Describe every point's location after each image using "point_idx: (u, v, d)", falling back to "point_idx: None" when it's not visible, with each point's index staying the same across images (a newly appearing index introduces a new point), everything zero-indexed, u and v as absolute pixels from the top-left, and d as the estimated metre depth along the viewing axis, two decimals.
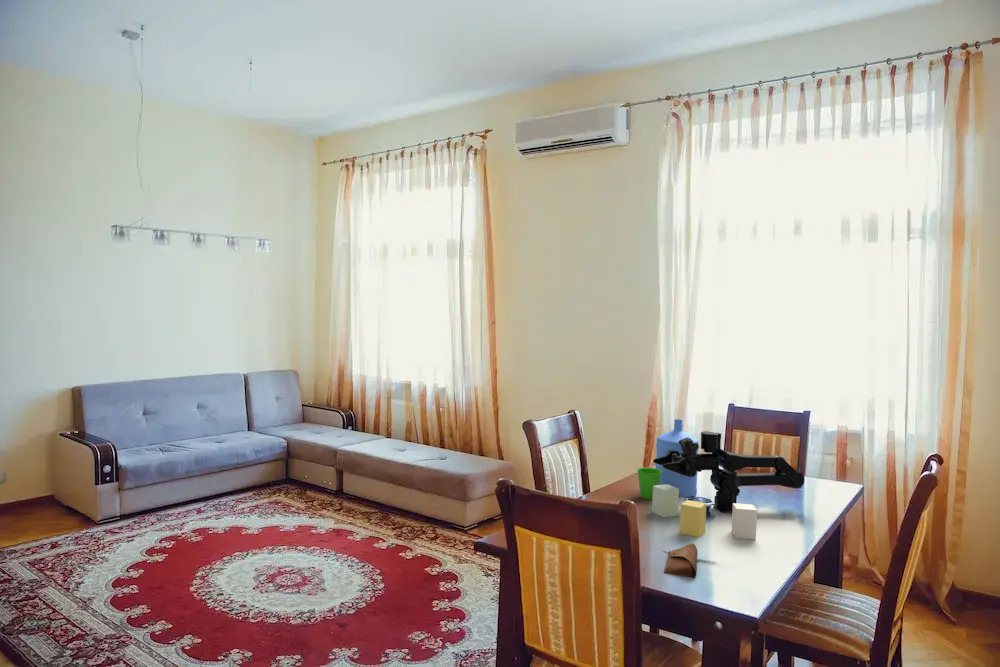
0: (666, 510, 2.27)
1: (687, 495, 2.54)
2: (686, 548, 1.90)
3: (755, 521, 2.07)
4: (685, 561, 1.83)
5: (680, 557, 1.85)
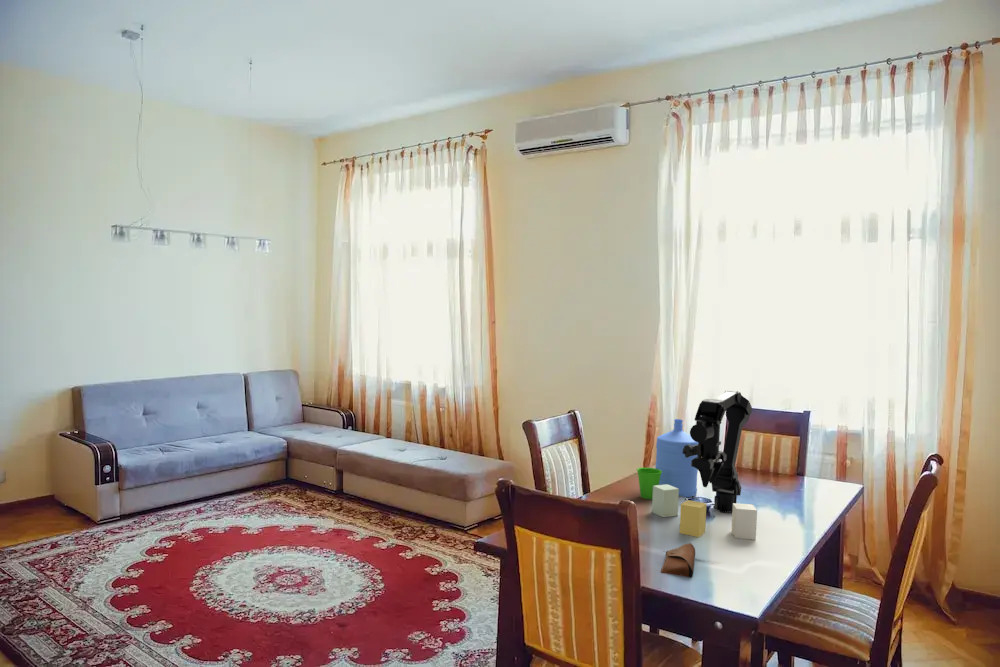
0: (666, 510, 2.27)
1: (687, 495, 2.54)
2: (684, 548, 1.91)
3: (755, 521, 2.07)
4: (682, 561, 1.83)
5: (677, 557, 1.85)
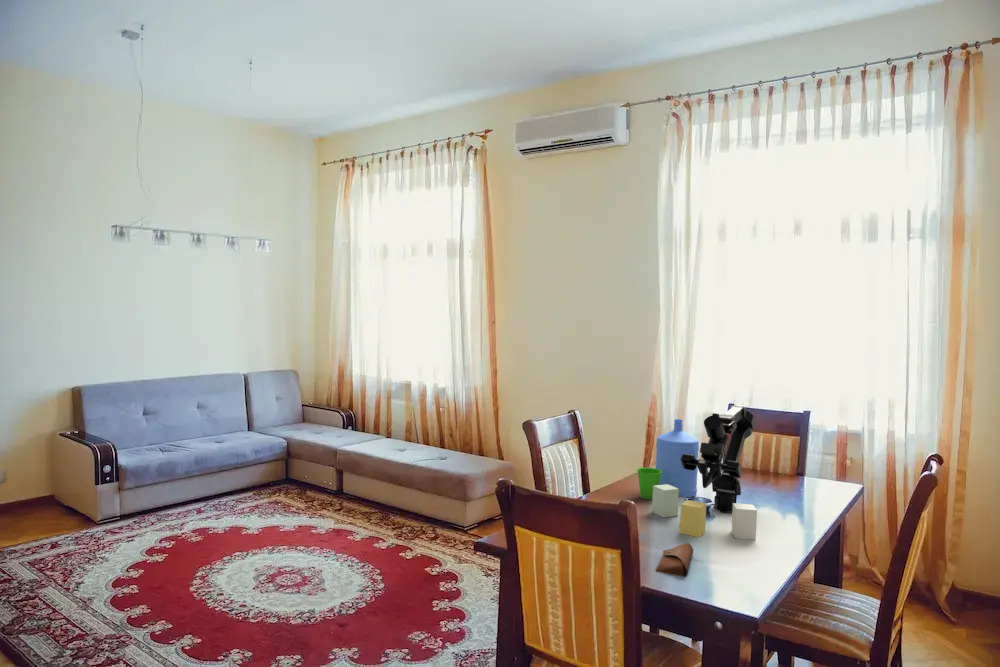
0: (666, 510, 2.27)
1: (687, 495, 2.54)
2: (681, 547, 1.91)
3: (755, 521, 2.07)
4: (677, 560, 1.83)
5: (673, 556, 1.86)
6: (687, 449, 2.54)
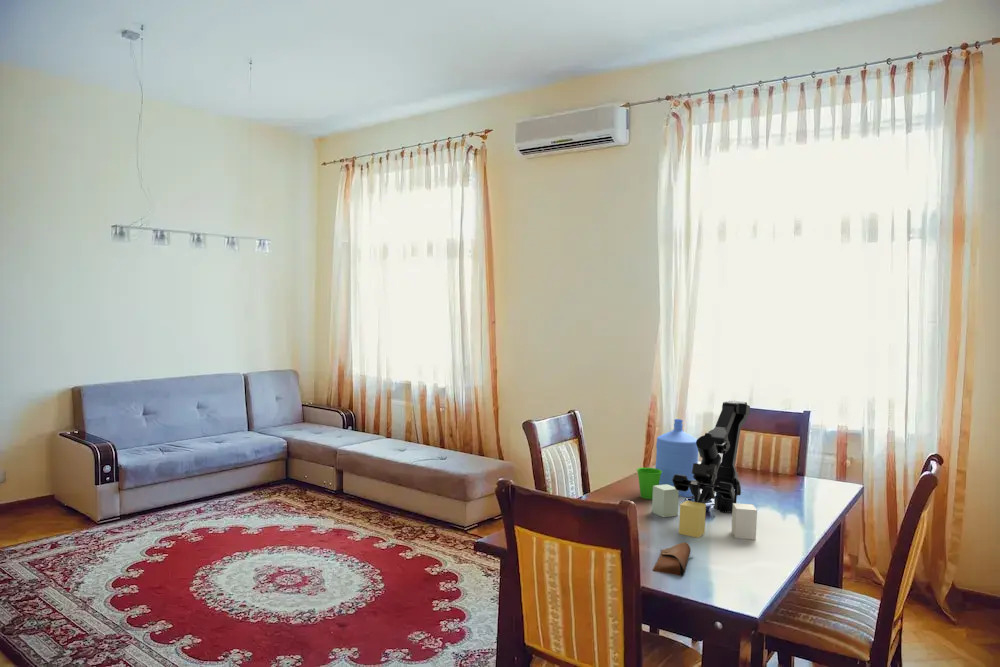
0: (666, 510, 2.27)
1: (687, 495, 2.54)
2: (678, 547, 1.91)
3: (755, 521, 2.07)
4: (674, 559, 1.84)
5: (670, 555, 1.86)
6: (687, 449, 2.54)
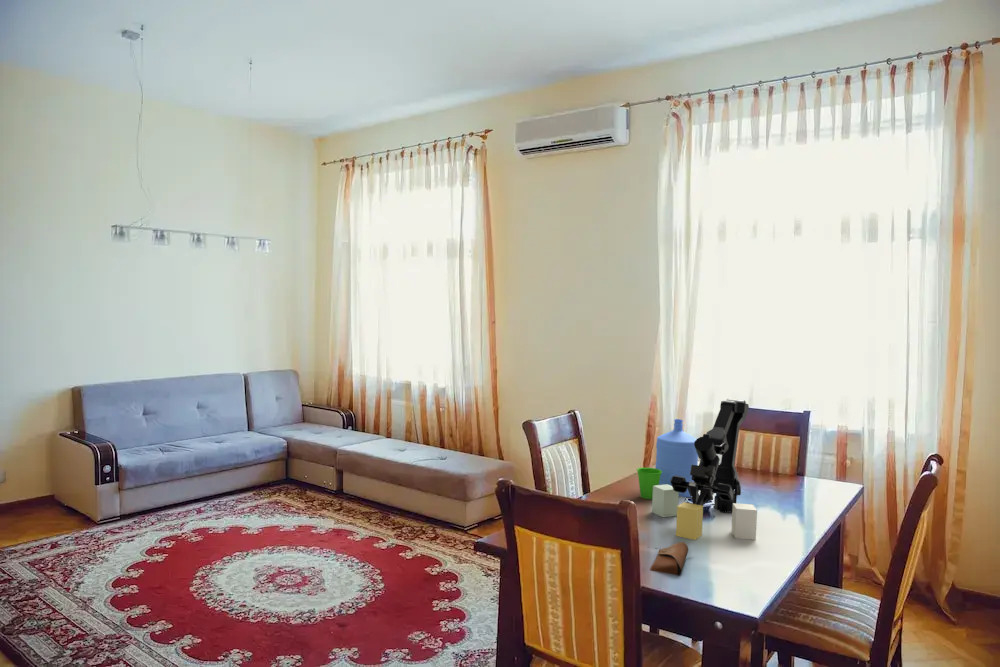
0: (666, 510, 2.27)
1: (687, 495, 2.54)
2: (675, 546, 1.92)
3: (755, 521, 2.07)
4: (672, 559, 1.84)
5: (667, 555, 1.86)
6: (688, 449, 2.54)
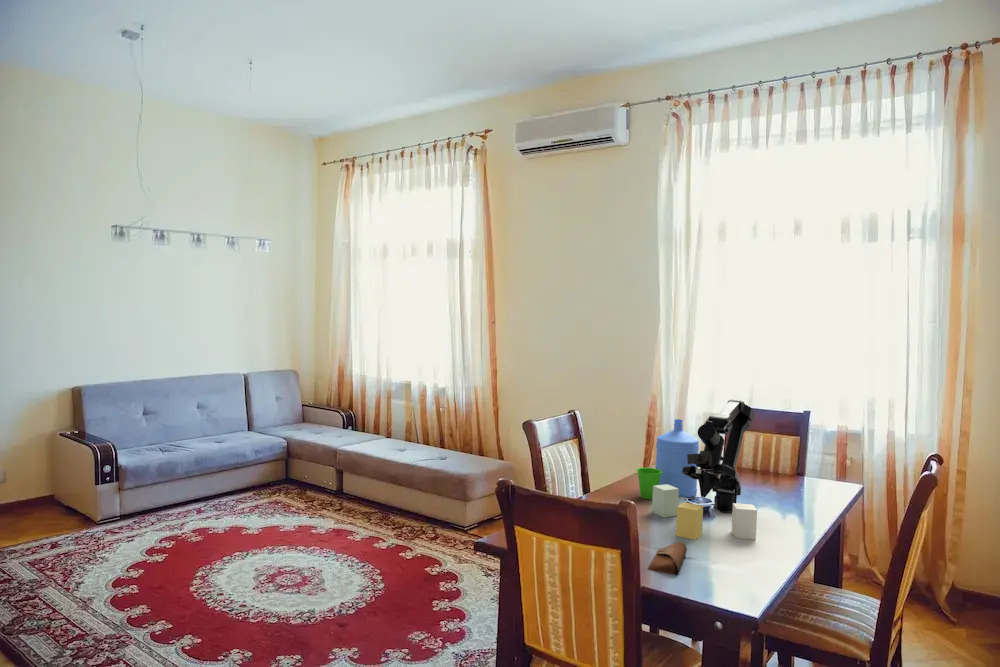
0: (666, 510, 2.27)
1: (687, 495, 2.54)
2: (673, 546, 1.92)
3: (755, 521, 2.07)
4: (669, 558, 1.84)
5: (665, 554, 1.87)
6: (688, 449, 2.54)
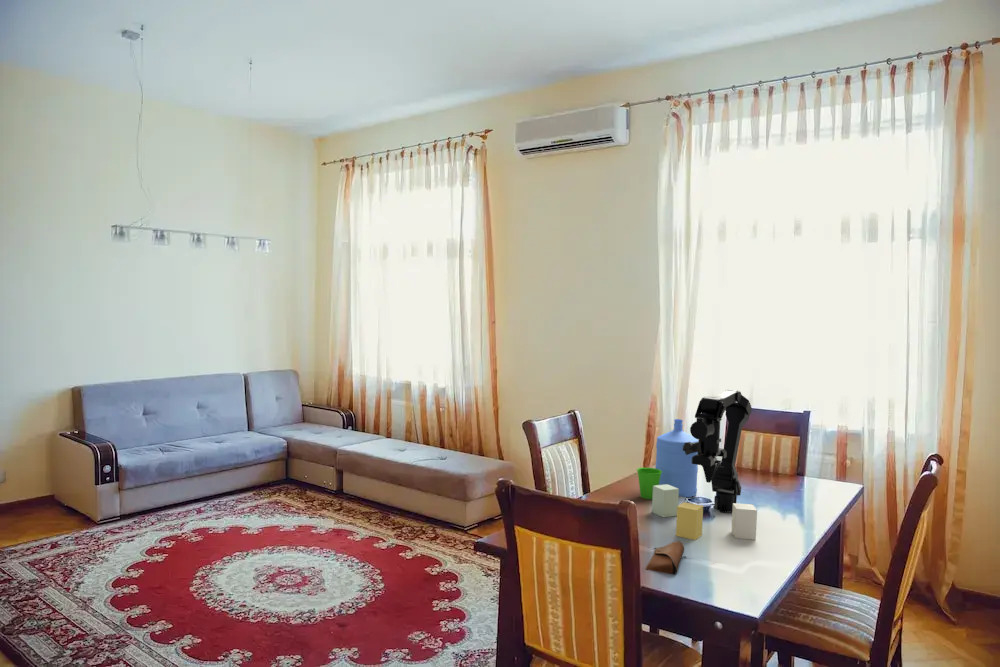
0: (666, 510, 2.27)
1: (687, 495, 2.54)
2: (671, 546, 1.92)
3: (755, 521, 2.07)
4: (667, 558, 1.84)
5: (663, 554, 1.87)
6: None
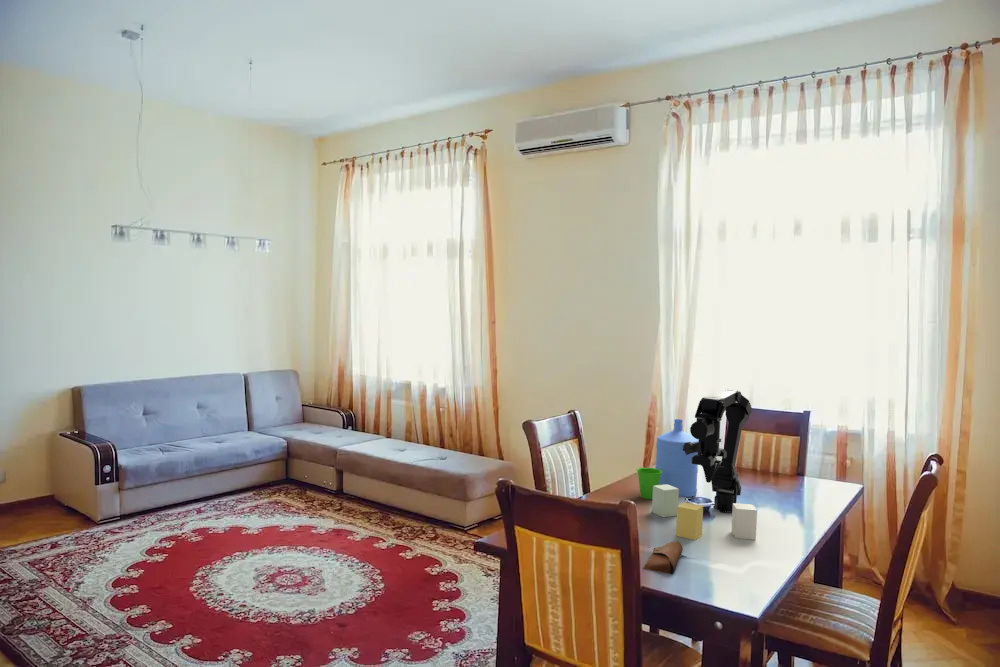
0: (666, 510, 2.27)
1: (687, 495, 2.54)
2: (669, 545, 1.92)
3: (755, 521, 2.07)
4: (665, 558, 1.85)
5: (661, 554, 1.87)
6: None
